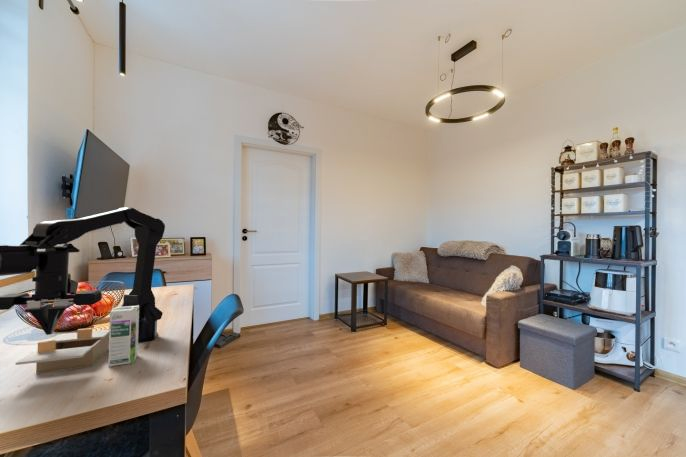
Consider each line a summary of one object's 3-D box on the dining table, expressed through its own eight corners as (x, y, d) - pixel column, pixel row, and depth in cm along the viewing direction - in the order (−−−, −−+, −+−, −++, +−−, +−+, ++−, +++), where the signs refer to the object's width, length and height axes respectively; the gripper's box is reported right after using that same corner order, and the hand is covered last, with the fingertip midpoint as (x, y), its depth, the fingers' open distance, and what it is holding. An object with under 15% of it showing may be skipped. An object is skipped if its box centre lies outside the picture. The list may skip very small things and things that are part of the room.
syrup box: (107, 367, 74) (109, 311, 75) (113, 358, 80) (114, 306, 80) (134, 363, 77) (136, 309, 77) (138, 355, 82) (139, 304, 82)
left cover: (92, 347, 74) (92, 336, 74) (81, 357, 68) (82, 345, 68) (32, 354, 69) (32, 342, 69) (15, 364, 64) (16, 351, 64)
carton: (108, 349, 86) (109, 332, 86) (92, 366, 75) (93, 347, 75) (60, 354, 81) (61, 336, 81) (36, 373, 71) (36, 352, 71)
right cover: (111, 331, 86) (111, 321, 86) (103, 338, 81) (103, 327, 81) (60, 335, 82) (61, 325, 82) (48, 343, 76) (49, 332, 76)
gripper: (110, 266, 83) (108, 321, 82) (22, 268, 76) (20, 327, 75) (94, 271, 72) (91, 334, 72) (-9, 274, 65) (-13, 343, 65)
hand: (49, 334), depth 71 cm, fingers closed
